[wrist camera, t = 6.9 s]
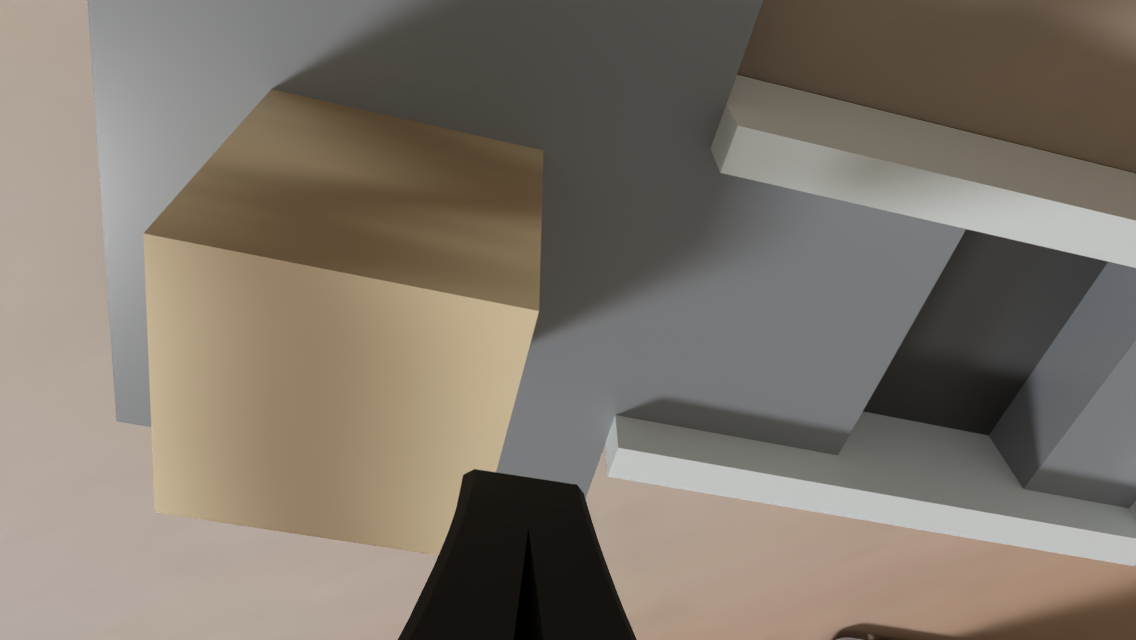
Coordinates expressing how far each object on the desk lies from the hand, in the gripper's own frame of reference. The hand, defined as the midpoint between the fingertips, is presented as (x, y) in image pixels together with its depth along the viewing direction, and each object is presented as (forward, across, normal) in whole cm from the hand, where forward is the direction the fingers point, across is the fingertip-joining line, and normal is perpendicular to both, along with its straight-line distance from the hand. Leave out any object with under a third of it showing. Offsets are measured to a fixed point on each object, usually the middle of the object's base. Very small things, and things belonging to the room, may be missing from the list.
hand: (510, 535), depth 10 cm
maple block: (+6, +2, 0) cm, 7 cm away
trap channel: (+8, -5, 0) cm, 10 cm away
